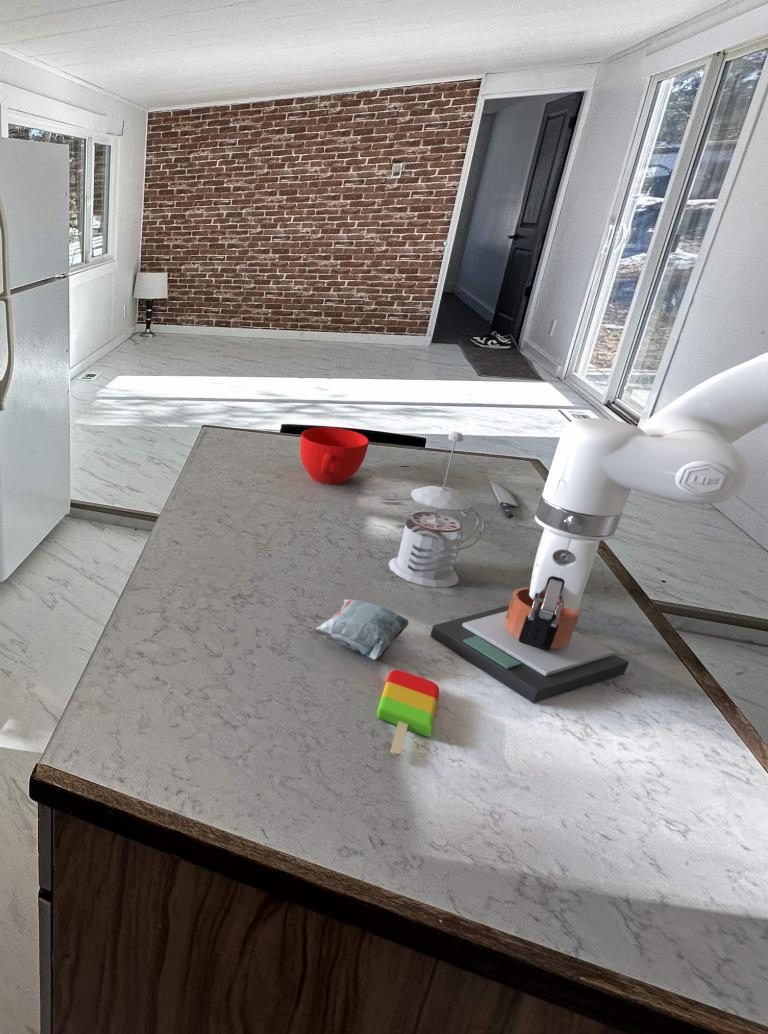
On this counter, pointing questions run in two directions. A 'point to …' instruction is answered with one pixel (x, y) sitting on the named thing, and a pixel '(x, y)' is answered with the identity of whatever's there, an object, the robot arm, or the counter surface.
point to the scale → (527, 656)
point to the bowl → (524, 602)
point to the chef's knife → (504, 499)
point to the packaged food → (363, 628)
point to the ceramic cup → (332, 453)
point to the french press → (422, 560)
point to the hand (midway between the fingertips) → (537, 630)
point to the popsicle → (408, 705)
